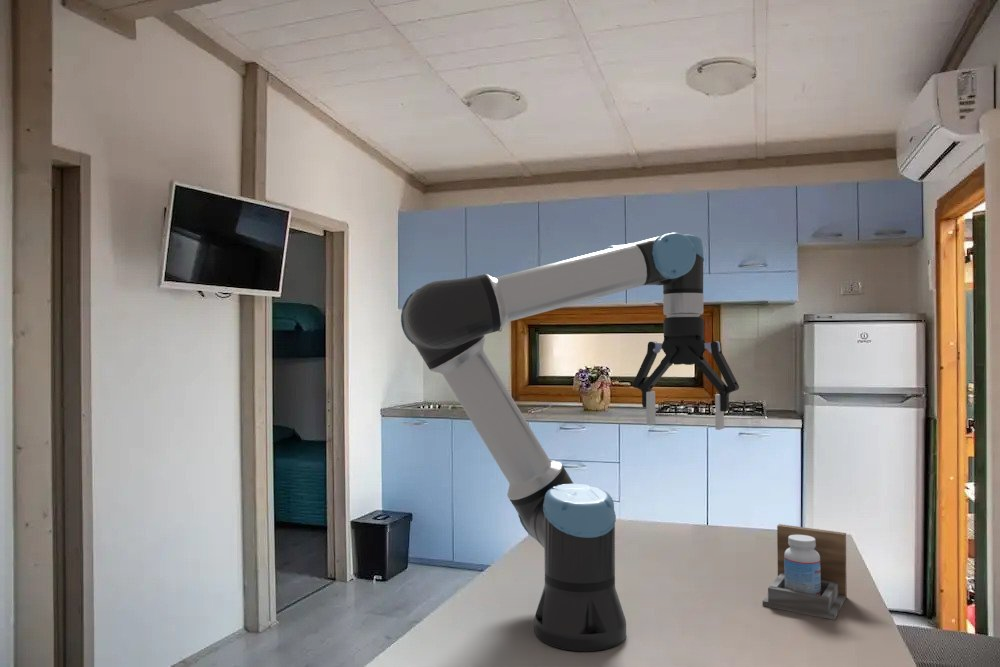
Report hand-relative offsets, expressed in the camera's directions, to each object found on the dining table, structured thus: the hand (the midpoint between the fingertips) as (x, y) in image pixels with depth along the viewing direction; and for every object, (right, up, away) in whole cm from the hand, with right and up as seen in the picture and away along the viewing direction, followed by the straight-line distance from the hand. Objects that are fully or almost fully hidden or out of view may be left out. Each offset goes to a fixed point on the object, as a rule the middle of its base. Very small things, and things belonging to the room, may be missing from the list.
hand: (684, 426), depth 137 cm
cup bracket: (+21, -32, -5) cm, 38 cm away
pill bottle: (+20, -31, -7) cm, 37 cm away
